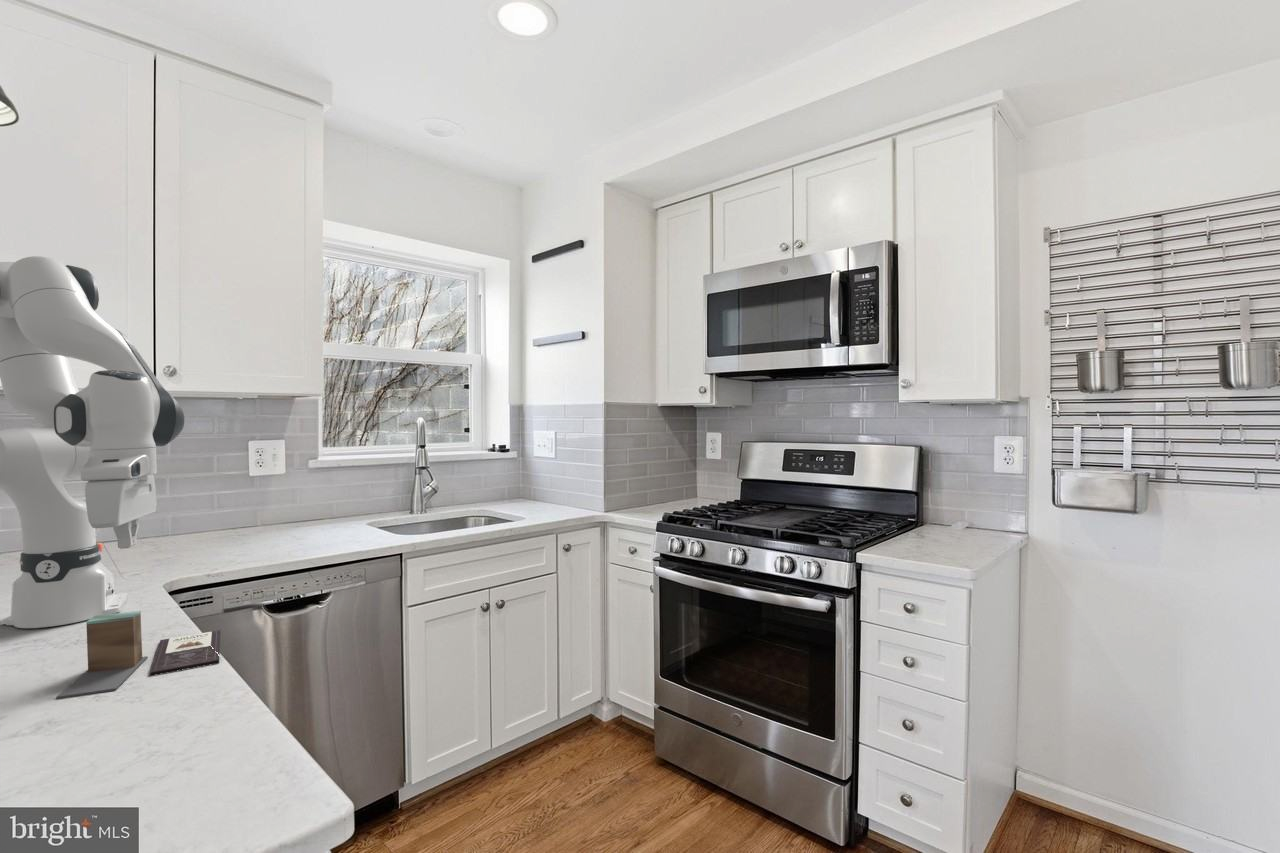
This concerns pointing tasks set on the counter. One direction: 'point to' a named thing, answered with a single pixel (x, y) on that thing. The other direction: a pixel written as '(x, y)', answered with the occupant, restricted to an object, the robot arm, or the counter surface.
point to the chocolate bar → (186, 652)
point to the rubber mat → (99, 681)
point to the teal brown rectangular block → (114, 641)
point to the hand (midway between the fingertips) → (127, 547)
